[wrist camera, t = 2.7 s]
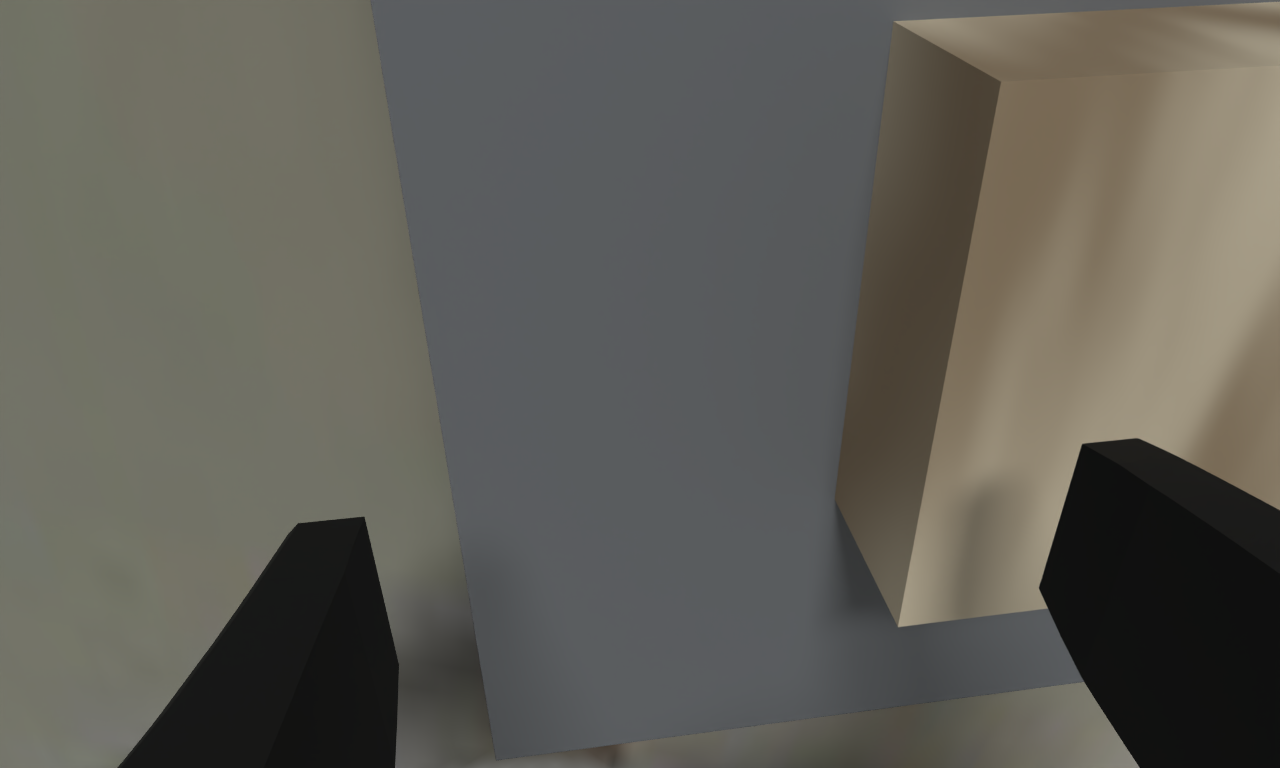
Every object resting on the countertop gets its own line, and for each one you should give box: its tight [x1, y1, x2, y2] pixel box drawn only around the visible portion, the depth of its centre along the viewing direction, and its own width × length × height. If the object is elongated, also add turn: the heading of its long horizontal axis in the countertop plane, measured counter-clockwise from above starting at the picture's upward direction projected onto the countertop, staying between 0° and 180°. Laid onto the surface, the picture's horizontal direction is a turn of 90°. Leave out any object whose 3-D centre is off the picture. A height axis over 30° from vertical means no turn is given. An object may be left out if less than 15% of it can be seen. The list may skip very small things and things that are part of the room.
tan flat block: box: [835, 2, 1280, 627], centre depth 13 cm, size 3×8×8 cm
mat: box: [371, 0, 1280, 760], centre depth 15 cm, size 18×20×1 cm
